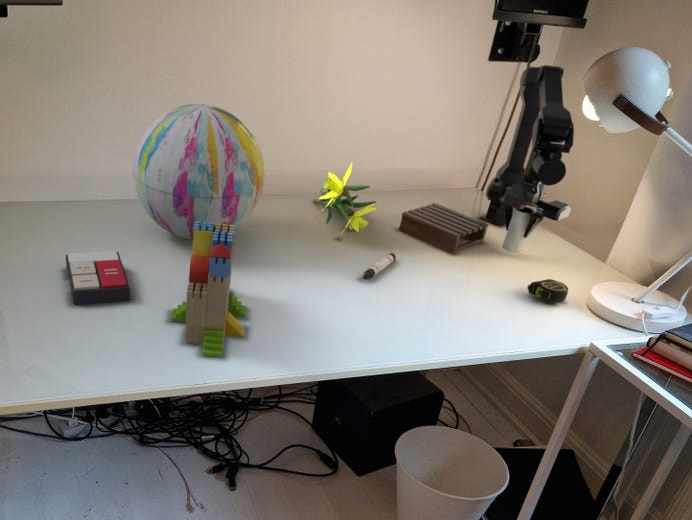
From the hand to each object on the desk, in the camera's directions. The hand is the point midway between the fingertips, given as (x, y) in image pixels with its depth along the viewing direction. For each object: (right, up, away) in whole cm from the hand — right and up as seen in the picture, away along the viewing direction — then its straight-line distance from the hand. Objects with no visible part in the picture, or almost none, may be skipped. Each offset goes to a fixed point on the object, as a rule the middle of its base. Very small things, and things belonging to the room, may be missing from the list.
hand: (516, 233), depth 159 cm
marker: (-36, -11, -10) cm, 39 cm away
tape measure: (0, -17, -15) cm, 23 cm away
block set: (-74, -22, -33) cm, 84 cm away
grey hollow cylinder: (0, -3, +2) cm, 4 cm away
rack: (-16, +1, +10) cm, 18 cm away
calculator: (-97, -16, -26) cm, 102 cm away
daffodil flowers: (-44, +5, +12) cm, 46 cm away
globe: (-78, -1, -2) cm, 78 cm away
